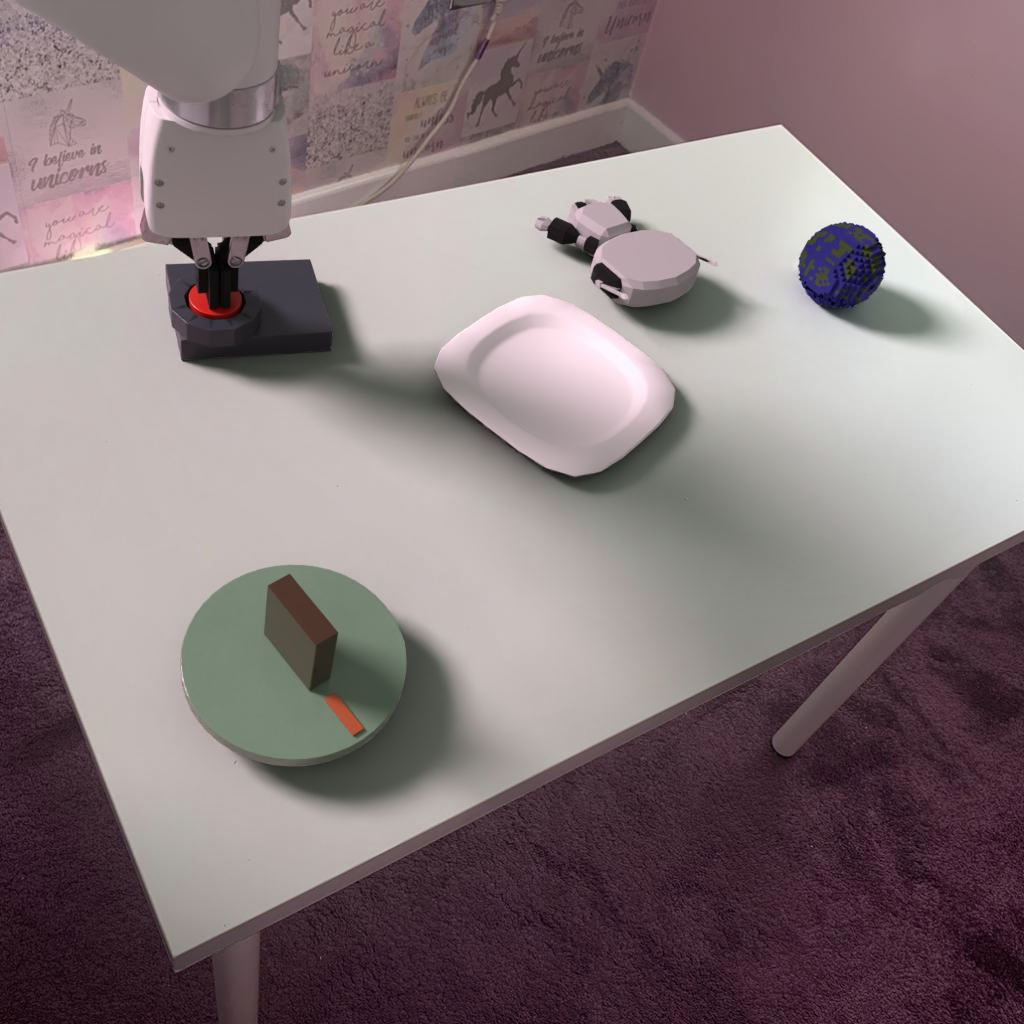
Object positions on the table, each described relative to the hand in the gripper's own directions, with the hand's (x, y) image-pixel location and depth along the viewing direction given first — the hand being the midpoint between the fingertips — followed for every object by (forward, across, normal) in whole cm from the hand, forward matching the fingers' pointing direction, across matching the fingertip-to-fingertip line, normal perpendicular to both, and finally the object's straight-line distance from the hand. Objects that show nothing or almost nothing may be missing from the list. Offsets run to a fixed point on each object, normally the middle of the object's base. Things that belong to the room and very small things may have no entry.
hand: (216, 296), depth 83 cm
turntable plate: (+2, 0, +32) cm, 32 cm away
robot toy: (+5, -39, -6) cm, 40 cm away
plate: (+4, -27, +9) cm, 29 cm away
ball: (+5, -61, -1) cm, 61 cm away
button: (+2, 0, 0) cm, 2 cm away
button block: (+4, -3, -2) cm, 6 cm away
